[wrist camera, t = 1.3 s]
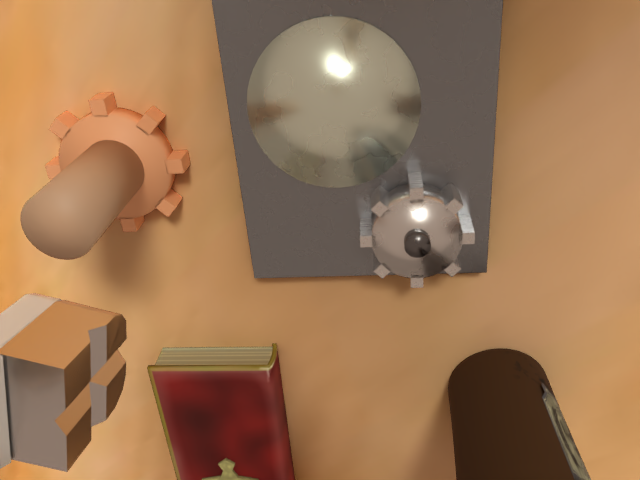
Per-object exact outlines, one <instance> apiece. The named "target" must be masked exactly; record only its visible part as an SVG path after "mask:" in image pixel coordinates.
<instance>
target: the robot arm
mask: <svg viewBox="0 0 640 480" xmlns="http://www.w3.org/2000/svg"><path fill="white" fill-rule="evenodd" d="M125 340H126V320H125V318H124V317H123V316H122V314H118V313H114V312H110V311H106V310H102V309H98V308H94V307H90V306H86V305H82V304H78V303H74V302H70V301H66V300H61V299H58V298H54V297H49V296H45V295H40V294H36V293H33V294H26V295H24V296H23V297H22V298H20V299H19V300H18V301H16V302H15V303H14V304H12V305H11V306H10V307H9V308H7V309H6V310H5V311H3V312H2V313H1V314H0V468H2V467H4V466H6V465H8V464H9V463H11V459H12V460H17V461H21V462H26V463H30V464H34V465H39V466H43V467H48V468H52V469H57V470H61V471H65V472H67V471H68V470H69V469H70V468H71V466H72V465H73V464H74V462H75V461H76V460H77V458H78V457H79V456H80V454H81V453H82V452H83V450H84V449H85V448H86V446H87V445H88V444H89V442H90V441H91V427H92V426H94V425H96V424H98V423H101V422H103V421H105V420H107V418H108V417H109V415H110V414H111V412H112V411H113V410H114V408H115V407H116V404H117V402H118V400H119V397H120V395H121V392H122V390H123V385H124V380H125V375H126V362H125V360H124V358H123V357H122V355H121V354H120V352H119V351H118V348H119V347H120V346H121V344H122V343H123V342H124V341H125Z"/></svg>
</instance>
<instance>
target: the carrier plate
mask: <svg viewBox="0 0 640 480" xmlns="http://www.w3.org/2000/svg"><path fill="white" fill-rule="evenodd" d="M212 5H213V12H214V18H215V25H216V31H217V38H218V44H219V51H220V57H221V64H222V70H223V77H224V83H225V90H226V96H227V103H228V109H229V116H230V122H231V129H232V135H233V142H234V148H235V155H236V161H237V167H238V174H239V180H240V187H241V193H242V200H243V206H244V213H245V219H246V226H247V232H248V239H249V245H250V252H251V258H252V265H253V271H254V278H282V277H322V276H361V275H378V276H380V277H381V278H382V279H383V278H384V277H385V276H386V275H399V276H403V277H407V278H410V285H411V288H423V278H424V277H429V276H432V275H435V274H441V273H448V274H449V275H450V276H451V277H453V276H454V275H455V274H456V273H481V272H487V256H488V240H489V223H490V207H491V190H492V173H493V157H494V140H495V124H496V107H497V91H498V74H499V58H500V41H501V24H502V8H503V0H212Z"/></svg>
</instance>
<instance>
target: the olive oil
mask: <svg viewBox="0 0 640 480" xmlns="http://www.w3.org/2000/svg"><path fill="white" fill-rule="evenodd" d="M448 393H449V402H450V411H451V421H452V430H453V442H454V454H455V466H456V478H457V480H591V478H590V476H589V474H588V472H587V470H586V467H585V465H584V463H583V461H582V458H581V456H580V454H579V452H578V449H577V447H576V445H575V442H574V440H573V438H572V435H571V433H570V431H569V428H568V426H567V424H566V422H565V419H564V417H563V415H562V412H561V410H560V407H559V405H558V402H557V400H556V398H555V396H554V393H553V391H552V388H551V386H550V383H549V381H548V378H547V376H546V374H545V372H544V370H543V368H542V367H541V365H540V364H539V363H538V362H537V361H536V360H535V359H533V358H532V357H530V356H529V355H527V354H525V353H522V352H519V351H516V350H511V349H491V350H486V351H482V352H479V353H476V354H474V355H472V356H470V357H468V358H467V359H465V360H464V361H462V362H461V363H460V364H459V365H458V366H457V367H456V368H455V370H454V371H453V373H452V375H451V377H450V380H449V386H448Z"/></svg>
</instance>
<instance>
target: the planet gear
mask: <svg viewBox="0 0 640 480" xmlns="http://www.w3.org/2000/svg"><path fill="white" fill-rule="evenodd" d="M88 101H89V104H90V108H91V113H89V114H88V115H86V116H85V117H83V118H82V119H81V120H79V119H78V118H76V117H75V116H74V115H72V114H71V113H70V112H68V111H65V112H64V113H62V114H61V115H59V116H58V117H57V118H55V120H54V121H53V123H52V125H51V126H50V128H49V130H50V131H52V132H53V133H54V134H56V135H57V136H58V137H60V138H61V139H62V142H61V144H60V149H59V156H57V157H55V158H54V159H52V160H51V161H50V162H49V163H47V164H46V165H45V168H46V171H47V174H48V177H49V179H52V180H51V181H50V182H49V183H47V184H46V185H45V186H44V187H43V188H42V189H40V190H39V191H38V192H37V193H36V194H35V195H34V196H32V197H31V198H30V199H29V200H28V201H27V202H26V203H25V204H24V206H23V208H22V211H21V225H22V229H23V231H24V233H25V235H26V237H27V238H28V240H29V241H30V242H31V243H32V244H33V245H34V246H35V247H36V248H37V249H39V250H40V251H41V252H43V253H45V254H47V255H49V256H51V257H54V258H58V259H66V260H69V259H76V258H79V257H81V256H83V255H85V254H86V253H87V252H88V251H89V250H90V249H91V248H92V247H93V245H94V244H95V243H96V242H97V241H98V239H99V238H100V237H101V236H102V234H103V233H104V232H105V231H106V230H107V228H108V227H109V226H110V225H111V223H112V222H113V221H114V220H115V218H117V219H120V222H121V225H122V229H123V232H134V231H137V230H138V229H139V228H140V226H141V225H142V223H143V222H144V215H146V214H148V213H150V212H151V211H153V210H154V209H155V208H156V209H158V210H159V211H160V212H162V213H163V214H165V215H166V216H167V217H169V216H170V214H171V213H172V212H173V211H174V210H175V208H176V207H177V205H178V204H179V202H180V201H181V199H182V198H183V197H182V196H180V195H179V194H178V193H176V192H175V191H174V190H172V189H171V187H172V185H173V182H174V179H175V174H178V173H184V172H185V171H186V169H187V168H188V167H189V165H190V159H189V154H188V150H181V151H173V149H172V147H171V145H170V143H169V141H168V139H167V138H166V136H165V135H164V133H163V132H162V131H161V130H160V129H159V128H158V127H157V126H158V125H159V124H160V122H161V121H162V120H163V118H164V117H165V116H166V115H165V114H164V113H162V112H161V111H160V110H158V109H157V108H156V107H155V106H152V107H151V108H150V109H149V110H148V111H147V112H146V113H145V114H144V115H141V114H139V113H136V112H134V111H131V110H128V109H124V108H117V106H116V101H115V97H114V93H113V92H108V93H98V94H97V95H95V96H94V97H92V98H91V99H90V100H88Z"/></svg>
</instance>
